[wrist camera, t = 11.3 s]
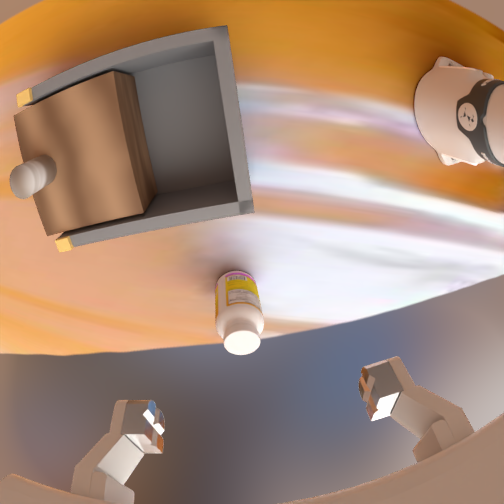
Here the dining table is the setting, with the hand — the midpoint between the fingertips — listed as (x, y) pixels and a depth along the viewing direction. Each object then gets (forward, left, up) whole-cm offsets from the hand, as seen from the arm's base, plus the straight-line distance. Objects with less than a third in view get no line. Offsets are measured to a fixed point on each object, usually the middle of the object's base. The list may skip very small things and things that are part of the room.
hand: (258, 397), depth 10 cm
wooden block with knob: (+17, -8, -32) cm, 37 cm away
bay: (+10, -8, -33) cm, 35 cm away
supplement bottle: (+2, +18, -33) cm, 38 cm away
